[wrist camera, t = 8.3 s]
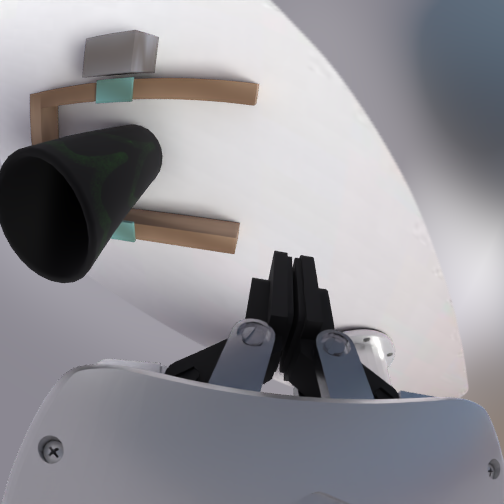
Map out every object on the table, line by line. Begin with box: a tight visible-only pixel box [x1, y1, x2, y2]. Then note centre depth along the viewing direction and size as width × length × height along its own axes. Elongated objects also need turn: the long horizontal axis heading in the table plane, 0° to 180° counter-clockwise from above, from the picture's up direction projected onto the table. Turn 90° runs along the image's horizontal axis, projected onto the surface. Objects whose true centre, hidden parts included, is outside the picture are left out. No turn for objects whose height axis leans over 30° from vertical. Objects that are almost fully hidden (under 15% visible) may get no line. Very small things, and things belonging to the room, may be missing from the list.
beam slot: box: [30, 30, 259, 254], centre depth 18 cm, size 17×20×4 cm
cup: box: [0, 125, 162, 283], centre depth 16 cm, size 8×8×12 cm
